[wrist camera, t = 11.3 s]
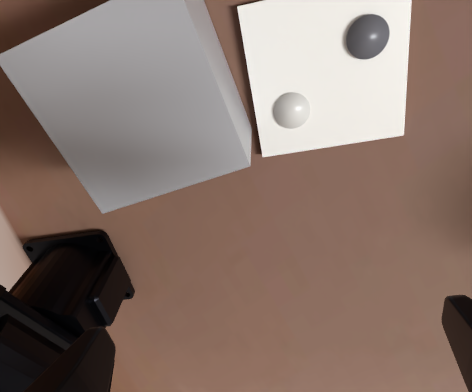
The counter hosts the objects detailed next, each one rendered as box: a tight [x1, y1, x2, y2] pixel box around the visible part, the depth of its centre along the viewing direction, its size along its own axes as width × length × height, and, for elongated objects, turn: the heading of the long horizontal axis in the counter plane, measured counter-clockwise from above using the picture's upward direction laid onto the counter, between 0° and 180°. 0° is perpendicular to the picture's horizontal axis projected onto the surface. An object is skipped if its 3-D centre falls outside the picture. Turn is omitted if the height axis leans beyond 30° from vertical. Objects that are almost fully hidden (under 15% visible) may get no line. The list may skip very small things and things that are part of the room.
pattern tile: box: [237, 0, 412, 157], centre depth 18 cm, size 8×8×1 cm
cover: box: [0, 0, 252, 214], centre depth 17 cm, size 8×8×5 cm
